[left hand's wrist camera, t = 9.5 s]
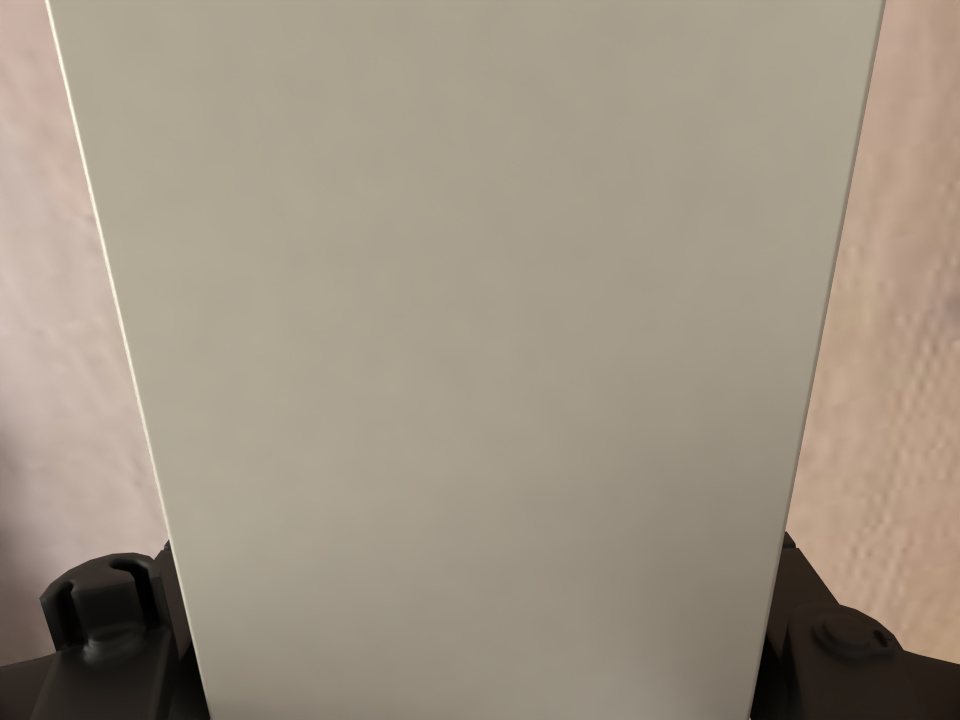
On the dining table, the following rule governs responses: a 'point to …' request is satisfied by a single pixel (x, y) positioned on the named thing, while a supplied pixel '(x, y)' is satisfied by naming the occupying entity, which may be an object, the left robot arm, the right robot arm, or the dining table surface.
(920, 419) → the dining table surface
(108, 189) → the board
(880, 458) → the dining table surface
